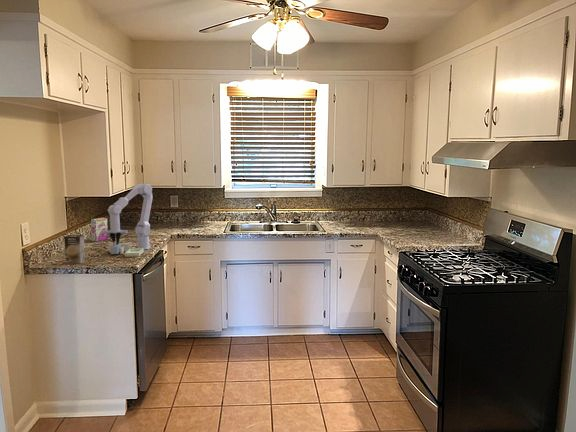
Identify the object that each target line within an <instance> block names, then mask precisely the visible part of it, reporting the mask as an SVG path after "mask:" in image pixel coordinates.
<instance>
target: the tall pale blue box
mask: <svg viewBox="0 0 576 432" xmlns="http://www.w3.org/2000/svg"><path fill="white" fill-rule="evenodd" d="M121 247H122V246H121V244H118V245H117V243H116V241H114V245H113V246H112V247H111V252H110V254H111V255H118V254H120V248H121Z"/></svg>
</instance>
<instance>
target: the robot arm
mask: <svg viewBox="0 0 576 432" xmlns="http://www.w3.org/2000/svg"><path fill="white" fill-rule="evenodd" d="M138 194H139V195H140V196H142V198H143V202H142V208H141V212H140V213H141V214H140V219H139V221H138V222H137V224H136V226H135V228H134V232H135V234H136V236H137V248H144V250H149V249H150V248H151V247H152V246H151V245H150V237H149V236H150V234H151V223H149V220H150V214H151V209H152V203H153V197H154V196H153V187H152V186H151V184H148V183H138V184H137V183H136V185H135V186H134V187H133V188H132V189H130V191H129V192H128V193H127V194H126V195H125V196H124V197H123V196H122V197H119V198H118V200H117V201H116V202H114V203H113V204H111V205H110V206H109V207H108V208H107V212H108V214H109V225H110V226H109V227H110V229H108V230H104V231H103V234H108V235H109V237H110V239H111V240H112V244H114V241H116V243H117V245H118V244H119V243H120V239H121V237H122V234H128V233H129V232H128V229H121V221H120V220H121V219H120V214H121V212H122V210H123V209H124V208H126V206H127V205H128V204H129V201H131V200H132V199H133V198H134V197H136V196H137V195H138Z"/></svg>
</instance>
